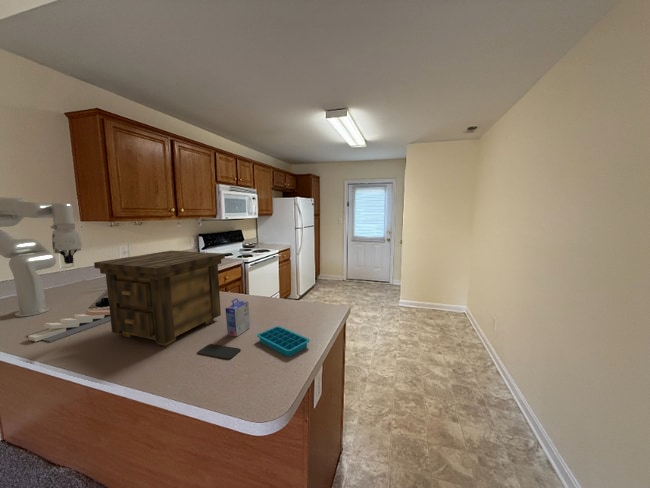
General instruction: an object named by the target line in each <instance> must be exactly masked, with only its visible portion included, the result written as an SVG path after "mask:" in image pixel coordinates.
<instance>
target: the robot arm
mask: <svg viewBox="0 0 650 488" xmlns="http://www.w3.org/2000/svg"><path fill="white" fill-rule="evenodd" d="M25 218H31V219H40V218H41V219H43V218H44V219H45V218H48V219H50V218H52V222H53V225H50V229H53V230H52V234H51V235H52V236H51V246H52V249H53V252H51V251H50V250H49V249H48V248H47V247H46V246H45V245H43V243H42V242H40V241H38V240H37V239H33V238H20V239H17V238H14V237H12V236H11V235H10V233H8V232H6V231H4V230H1V229H0V256H2V257H4V258H5V259H9V261H8V267H9V269H10V271H11V273H12V276H13V281H14V285H15V291H16V292H15V293H16V297H17V299H16V300H17V304H18V311H17V312H15V313H14V316H15V317H19V318H22V317H30V316H36V315H40V314H43V313H47V312H49V311H50V310H51V307H50V306H49V305H48V306H47V305H46V297H45V291H44V283H43V278H42V276H41V275H40V274H38V273H37V272H36V271H39V270H40V271H41V270H45V269H50V268H53V267H54V266H55V265H56V264H57V258H56V256H55V255H54V254H60V255H61V256H62V257H63V261H64V263H65V264H74V255H75V253H76V252H79V251H81V250H82V247H83V245H82V240H81V236H80V235H81V234H80V233H79V230H78V229H76V225H75V216H74V208H73V204H71V203H69V202H44V201H43V202H42V201H39V202H37V201H29V200H28V199H26V198H22V197H8V196H7V197H5V196H1V197H0V228H4V227H5V228H6V227H7V228H9V227H14V226H16V225H18V224H19V223H20V222H21V221H22V220H24V219H25Z"/></svg>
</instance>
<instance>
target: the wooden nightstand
mask: <svg viewBox="0 0 650 488" xmlns="http://www.w3.org/2000/svg"><path fill="white" fill-rule="evenodd" d="M225 255H226V253H219V252H204V251H188V250H187V251H184V250H183V251H182V250H166V251H160V252H153V253H146V254H142V255H141V254H140V255H134V256H128V257H126V256H125V257H121V258H115V259H108V260H101V261H95V262H93V264H94V267H93V268H94V269H97V270H98V269H99V273H100V274H105V279H106V280H105V281H106V290H107V297H108V298H107V299H108V307H109V309H110V318H111V321H110V325H111V333H113V334H118V335H119V334H121V335H122V337H126V338H132V337H134V336H135V337H138V338H139V337H140V338H144V339H148V340H154V341H155V343H156V344H157V345H161V346H164V347H167V346H168V345H170V344H173V343H174V342H176V341H177V337H178V336H179V335H181V334H184V333H186V332H188V331H190V330H192V329H193V328H194V329H195V327H197V326H199V325H208V324H211V323H212V322H214V319H216V318H218V317H220V316H221V315H222V313H221V295H220V282H219V281H220V279H219V277H220V276H219V265H220V264H222V260H224V259H225V258H226V256H225Z"/></svg>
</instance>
